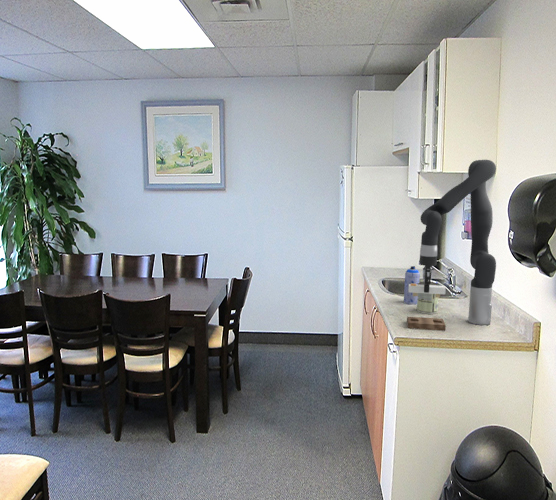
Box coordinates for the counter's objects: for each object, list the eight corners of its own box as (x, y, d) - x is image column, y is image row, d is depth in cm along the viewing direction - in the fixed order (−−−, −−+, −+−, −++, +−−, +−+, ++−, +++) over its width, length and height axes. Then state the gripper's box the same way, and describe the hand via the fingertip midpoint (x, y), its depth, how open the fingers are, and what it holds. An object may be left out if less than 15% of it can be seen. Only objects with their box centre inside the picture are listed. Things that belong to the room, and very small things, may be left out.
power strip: (444, 296, 222) (444, 284, 221) (445, 298, 218) (445, 286, 217) (408, 294, 226) (408, 282, 225) (408, 296, 222) (409, 284, 221)
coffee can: (416, 307, 251) (417, 281, 249) (437, 309, 248) (438, 282, 246) (416, 312, 241) (418, 285, 239) (438, 314, 238) (439, 286, 236)
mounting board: (442, 324, 223) (442, 318, 223) (445, 330, 214) (445, 325, 213) (406, 321, 226) (407, 316, 226) (408, 328, 217) (408, 322, 216)
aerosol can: (409, 305, 255) (411, 268, 252) (400, 301, 262) (402, 265, 259) (421, 303, 258) (423, 267, 255) (411, 300, 266) (413, 264, 262)
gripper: (438, 257, 211) (435, 295, 214) (435, 252, 225) (433, 288, 228) (420, 256, 213) (418, 294, 216) (419, 251, 227) (416, 287, 229)
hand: (426, 291), depth 222 cm, fingers closed on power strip, 4 cm apart
